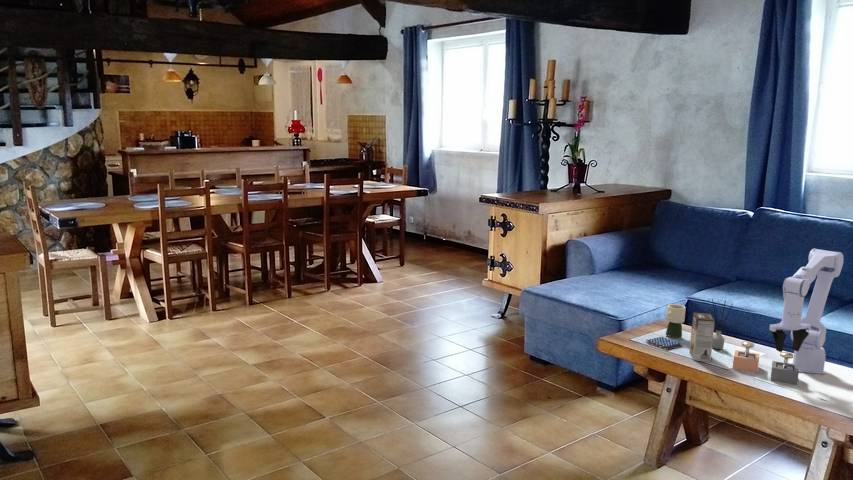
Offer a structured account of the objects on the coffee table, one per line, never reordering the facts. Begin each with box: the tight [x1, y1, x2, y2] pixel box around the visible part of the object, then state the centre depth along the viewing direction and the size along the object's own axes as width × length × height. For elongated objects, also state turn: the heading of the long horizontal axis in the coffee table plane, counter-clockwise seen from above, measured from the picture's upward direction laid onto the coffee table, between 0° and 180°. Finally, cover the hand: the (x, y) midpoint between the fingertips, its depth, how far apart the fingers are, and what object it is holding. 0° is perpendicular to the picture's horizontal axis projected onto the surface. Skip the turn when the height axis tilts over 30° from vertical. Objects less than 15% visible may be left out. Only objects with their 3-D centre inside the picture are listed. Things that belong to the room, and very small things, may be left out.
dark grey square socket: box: [770, 360, 800, 386], centre depth 231 cm, size 8×8×5 cm
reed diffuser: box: [711, 298, 733, 350], centre depth 260 cm, size 10×7×20 cm
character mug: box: [665, 303, 687, 339], centre depth 275 cm, size 11×7×13 cm, turn 125°
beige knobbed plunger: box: [777, 351, 794, 370], centre depth 230 cm, size 5×5×6 cm
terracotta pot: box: [732, 350, 760, 374], centre depth 241 cm, size 8×8×5 cm
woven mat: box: [645, 336, 683, 351], centre depth 265 cm, size 10×11×2 cm
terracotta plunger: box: [739, 340, 755, 359], centre depth 241 cm, size 5×5×6 cm
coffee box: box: [688, 312, 716, 362], centre depth 250 cm, size 9×6×16 cm
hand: (787, 350), depth 230 cm, fingers open, 6 cm apart
